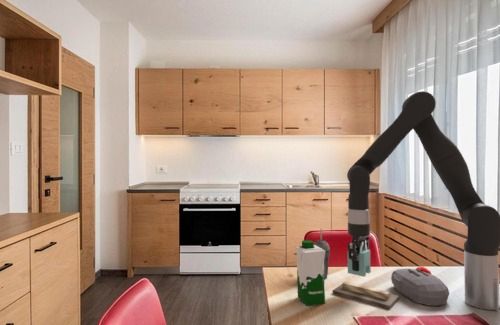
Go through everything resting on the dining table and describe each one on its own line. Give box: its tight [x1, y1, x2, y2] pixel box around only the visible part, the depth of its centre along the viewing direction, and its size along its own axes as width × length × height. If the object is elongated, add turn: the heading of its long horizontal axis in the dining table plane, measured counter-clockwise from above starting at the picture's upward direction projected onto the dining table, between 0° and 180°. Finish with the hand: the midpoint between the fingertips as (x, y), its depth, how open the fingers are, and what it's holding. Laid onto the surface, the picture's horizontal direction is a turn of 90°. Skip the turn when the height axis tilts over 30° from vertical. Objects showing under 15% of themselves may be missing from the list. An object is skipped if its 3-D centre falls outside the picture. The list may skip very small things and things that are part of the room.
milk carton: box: [295, 239, 326, 307], centre depth 112 cm, size 9×9×20 cm
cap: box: [415, 266, 432, 274], centre depth 128 cm, size 8×6×6 cm
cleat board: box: [332, 281, 400, 310], centre depth 114 cm, size 20×10×3 cm, turn 49°
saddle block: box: [347, 249, 371, 277], centre depth 116 cm, size 6×6×8 cm
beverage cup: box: [313, 228, 331, 281], centre depth 133 cm, size 7×7×20 cm
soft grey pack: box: [390, 268, 450, 307], centre depth 115 cm, size 15×8×20 cm
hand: (359, 268), depth 116 cm, fingers closed on saddle block, 5 cm apart
